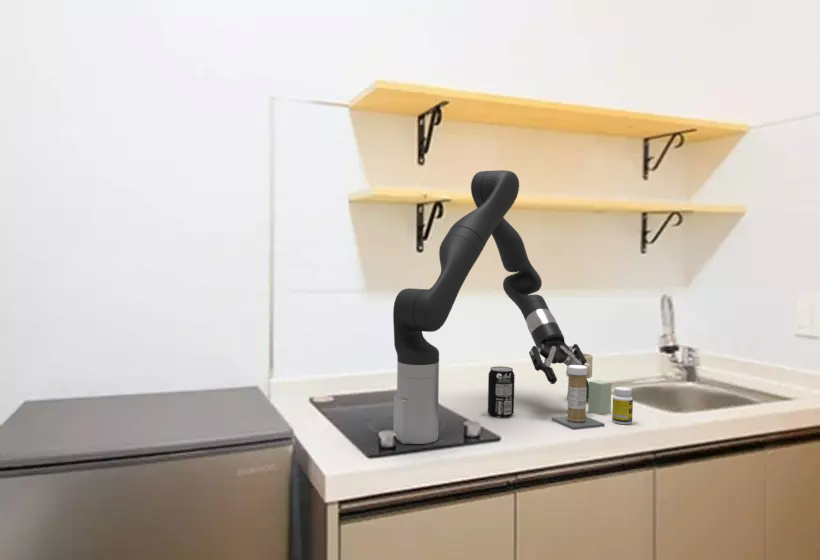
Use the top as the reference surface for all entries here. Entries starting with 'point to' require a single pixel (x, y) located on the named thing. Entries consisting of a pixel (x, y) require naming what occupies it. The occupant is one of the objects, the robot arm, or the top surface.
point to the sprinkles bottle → (577, 393)
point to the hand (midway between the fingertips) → (569, 381)
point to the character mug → (589, 371)
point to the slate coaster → (578, 423)
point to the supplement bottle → (622, 406)
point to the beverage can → (501, 392)
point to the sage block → (599, 397)
